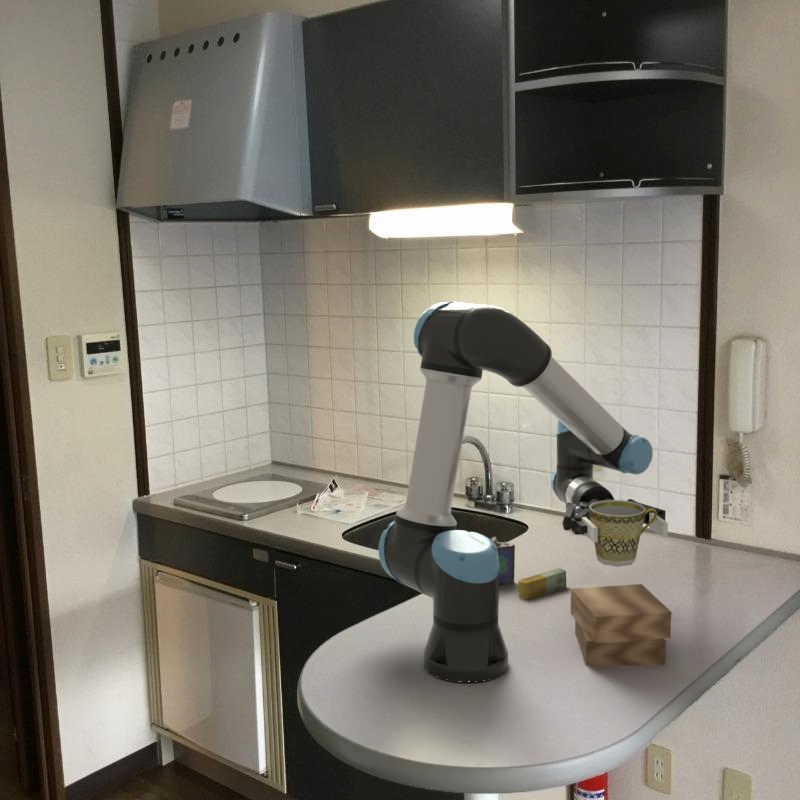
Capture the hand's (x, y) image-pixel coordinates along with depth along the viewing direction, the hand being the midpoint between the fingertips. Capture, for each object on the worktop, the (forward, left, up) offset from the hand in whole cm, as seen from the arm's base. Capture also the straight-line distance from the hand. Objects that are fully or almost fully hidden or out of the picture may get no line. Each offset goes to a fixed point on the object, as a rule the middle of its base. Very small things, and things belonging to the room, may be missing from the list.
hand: (630, 532), depth 174 cm
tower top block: (-1, +3, -19) cm, 19 cm away
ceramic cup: (-1, +3, -6) cm, 7 cm away
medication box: (-12, +32, -24) cm, 41 cm away
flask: (-22, +36, -24) cm, 49 cm away
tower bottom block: (-1, +3, -24) cm, 24 cm away
